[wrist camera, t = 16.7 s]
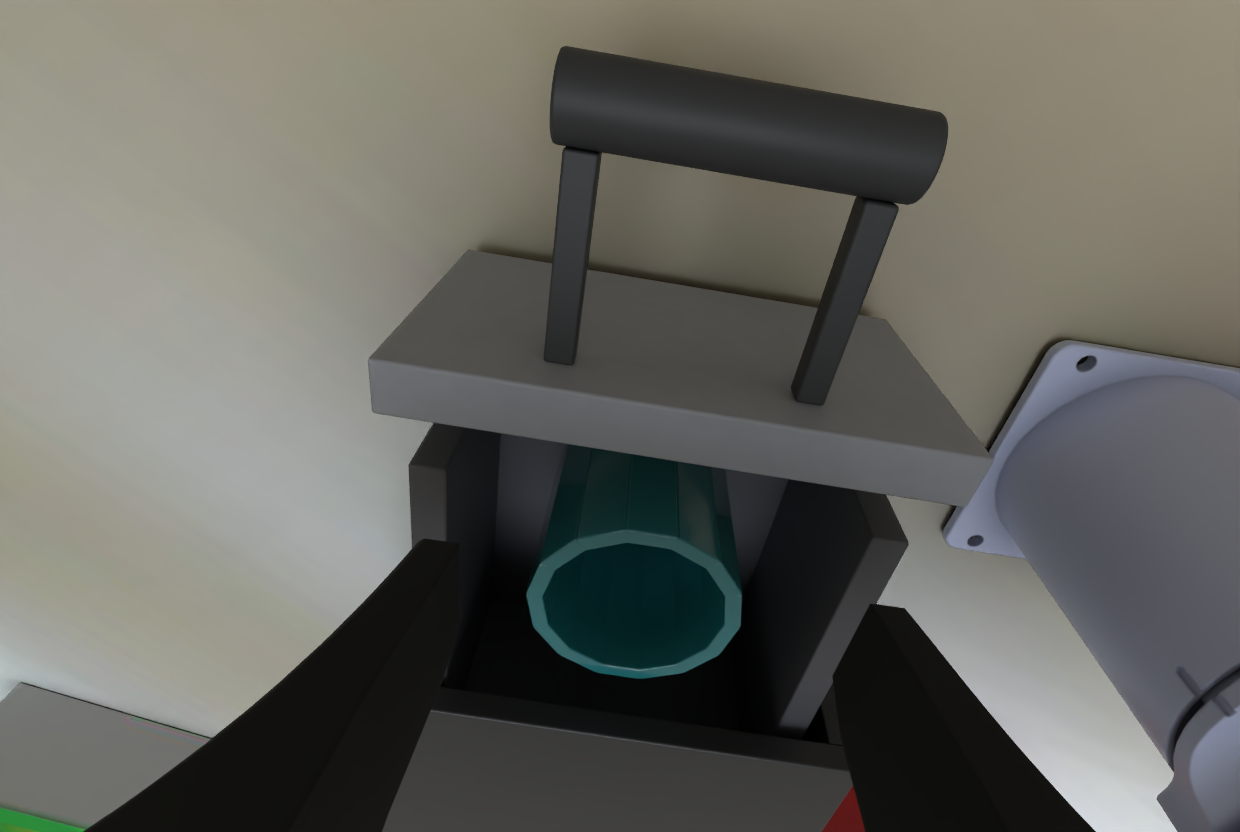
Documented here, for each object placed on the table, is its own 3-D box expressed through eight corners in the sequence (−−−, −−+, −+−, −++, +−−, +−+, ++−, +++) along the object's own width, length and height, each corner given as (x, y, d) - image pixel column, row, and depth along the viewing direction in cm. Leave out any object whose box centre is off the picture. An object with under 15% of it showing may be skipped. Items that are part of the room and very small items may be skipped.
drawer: (471, 20, 14) (338, 9, 8) (972, 108, 14) (1177, 156, 9) (462, 586, 24) (398, 758, 18) (757, 631, 24) (785, 815, 18)
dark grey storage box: (453, 487, 22) (354, 699, 15) (800, 541, 23) (862, 774, 16) (452, 715, 30) (386, 927, 23) (711, 753, 30) (726, 974, 23)
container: (704, 541, 20) (716, 691, 16) (552, 517, 20) (519, 662, 16) (742, 416, 18) (770, 552, 13) (568, 388, 18) (533, 515, 13)
